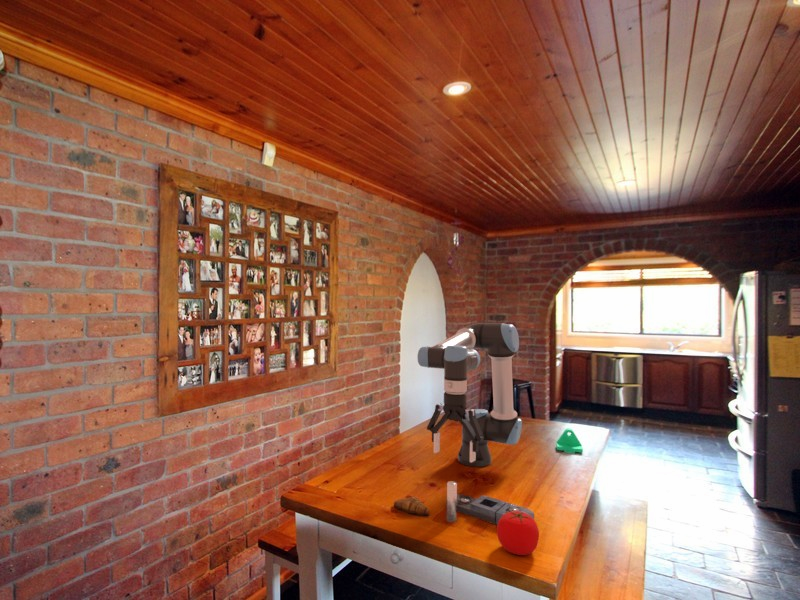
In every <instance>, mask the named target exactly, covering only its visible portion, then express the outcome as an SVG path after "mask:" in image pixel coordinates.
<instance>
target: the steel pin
mask: <svg viewBox="0 0 800 600" xmlns="http://www.w3.org/2000/svg"><path fill="white" fill-rule="evenodd" d="M457 494H458V483H457V482H456V481H453V480H451V481H447V482H446V522H448V523H455V521H457V512H458V511H457Z"/></svg>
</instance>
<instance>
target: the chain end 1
mask: <svg viewBox="0 0 800 600" xmlns="http://www.w3.org/2000/svg"><path fill="white" fill-rule="evenodd" d="M476 499H477V498H476V497H472V496H469V495H466V494H462V493H461V494H459V493H457V511H456V512H458V513H461V514H464V515H467V516H470V517H473V518H476V519H479V520H481V519H482V520H481V521H484V520H485V522H487V521H488V522H487V523H490V522H491V524H492V525H496V518H493V517H490V516H487V515H484V514H481V513H478V512H475V511H472V510H470V504H471V503H472V502H474V501H475V500H476ZM485 506H488V505H485ZM488 507H492V506H488Z"/></svg>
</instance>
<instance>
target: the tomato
mask: <svg viewBox="0 0 800 600" xmlns="http://www.w3.org/2000/svg"><path fill="white" fill-rule="evenodd" d="M535 520H536V519H535V518H534V519H533V518H532V517H531V516H529V515H528V514H526V513H524V512H520V511H512V512H508V513H506V514H504V515H503V516H502V517H501V518H500V520H499V522H498V525H496V535H497V539H498V541H499V543H500V545H501V546H502V547H503V549H504V550H505V551H507V552H509V553H510V554H514V555H518V556H527V555H530V554H532V553H533V552H534V551H535V550H536V548H537V546H538V543H539V540H540V539H539V537H540V531H539V527H538V525H537V523H536V521H535Z"/></svg>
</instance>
